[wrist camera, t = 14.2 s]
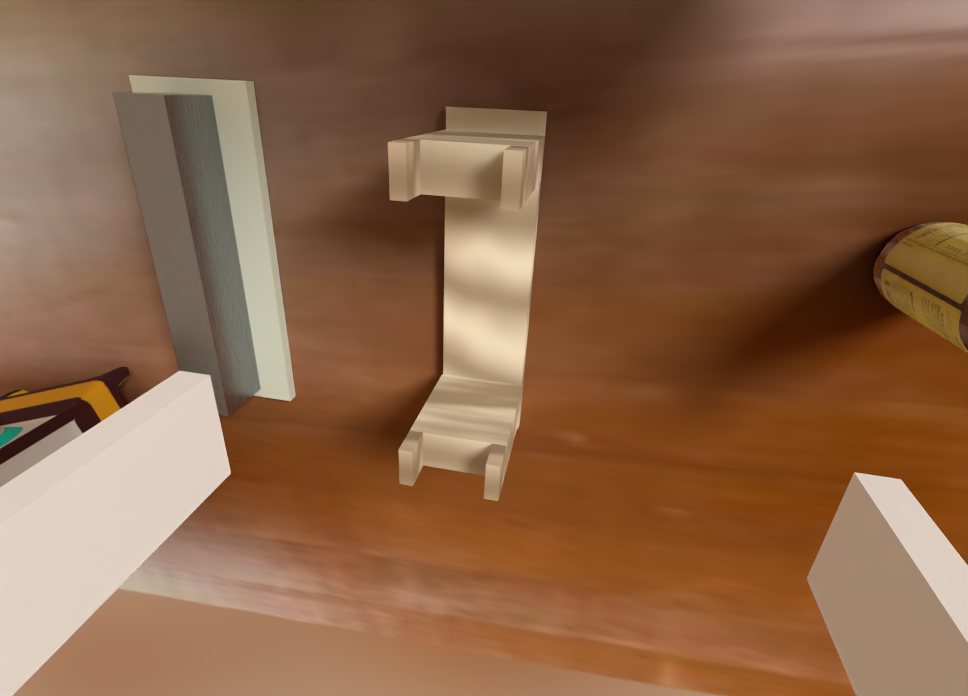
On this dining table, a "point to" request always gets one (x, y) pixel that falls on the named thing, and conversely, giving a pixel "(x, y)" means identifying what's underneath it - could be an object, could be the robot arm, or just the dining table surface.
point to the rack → (476, 283)
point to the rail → (192, 237)
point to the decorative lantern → (53, 418)
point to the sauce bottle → (929, 277)
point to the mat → (246, 218)
